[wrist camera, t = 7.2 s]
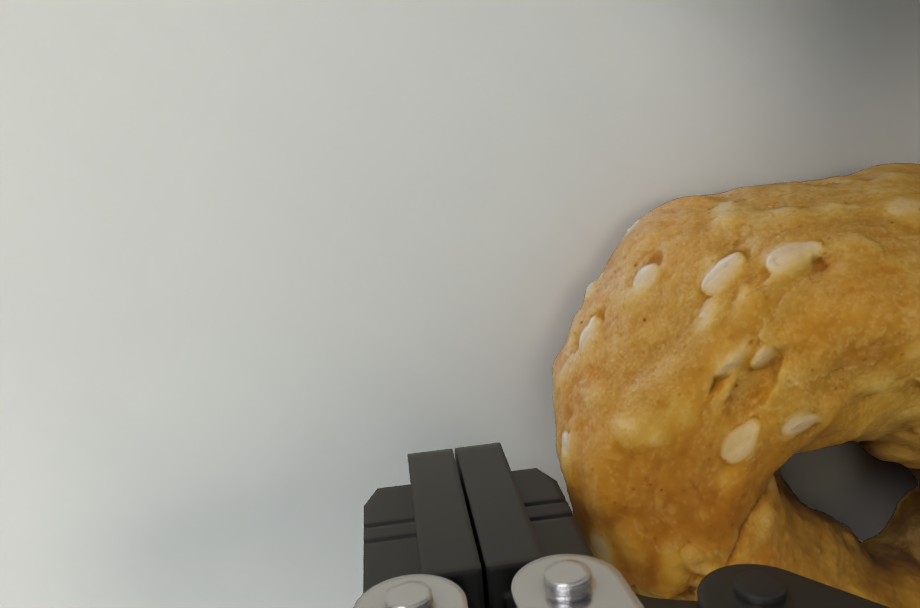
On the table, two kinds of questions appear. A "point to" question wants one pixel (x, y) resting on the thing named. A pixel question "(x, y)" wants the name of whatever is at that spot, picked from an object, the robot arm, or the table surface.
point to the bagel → (747, 383)
